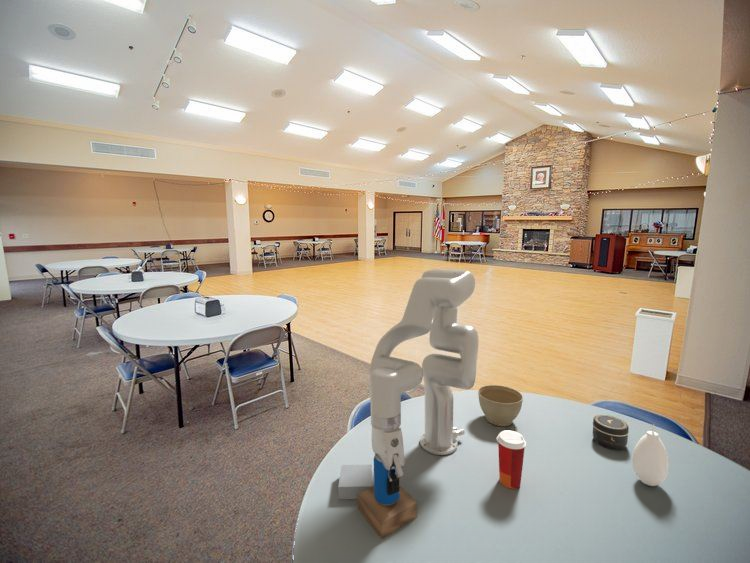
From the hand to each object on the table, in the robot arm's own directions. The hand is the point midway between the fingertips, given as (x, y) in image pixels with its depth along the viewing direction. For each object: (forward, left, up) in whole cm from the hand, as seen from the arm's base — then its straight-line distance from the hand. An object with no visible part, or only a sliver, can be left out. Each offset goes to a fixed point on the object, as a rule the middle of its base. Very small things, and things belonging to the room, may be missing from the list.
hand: (386, 482), depth 87 cm
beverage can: (0, 0, -4) cm, 4 cm away
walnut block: (0, 0, -8) cm, 8 cm away
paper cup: (-37, +5, -8) cm, 38 cm away
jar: (-82, +5, -8) cm, 82 cm away
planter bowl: (-59, -22, -8) cm, 63 cm away
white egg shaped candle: (-72, +22, -8) cm, 76 cm away
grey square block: (+4, -12, -9) cm, 15 cm away
